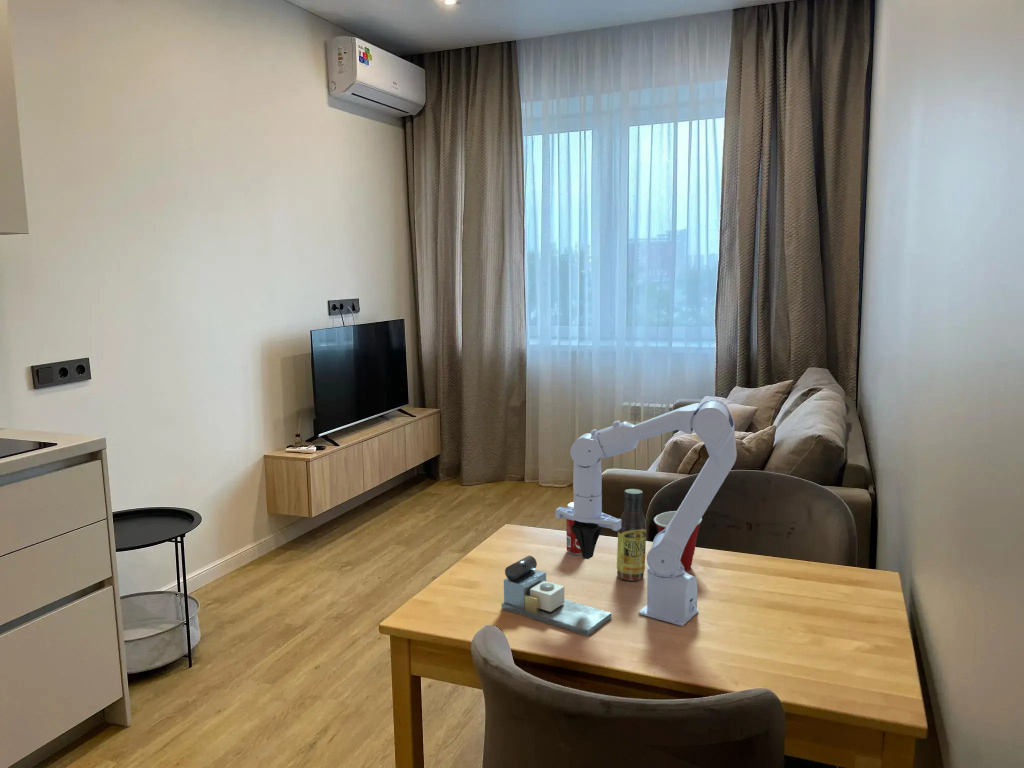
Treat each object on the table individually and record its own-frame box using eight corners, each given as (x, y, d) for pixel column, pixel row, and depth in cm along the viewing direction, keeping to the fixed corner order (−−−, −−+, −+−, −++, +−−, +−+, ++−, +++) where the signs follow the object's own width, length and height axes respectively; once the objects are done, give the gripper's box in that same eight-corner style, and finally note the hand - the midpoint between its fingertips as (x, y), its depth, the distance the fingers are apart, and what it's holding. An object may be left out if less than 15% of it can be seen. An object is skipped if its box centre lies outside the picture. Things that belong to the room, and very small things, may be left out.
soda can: (587, 548, 186) (587, 501, 184) (588, 556, 181) (587, 508, 179) (566, 547, 187) (566, 501, 185) (566, 555, 182) (565, 507, 180)
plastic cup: (647, 559, 178) (648, 510, 176) (691, 556, 179) (692, 508, 178) (661, 577, 168) (661, 526, 166) (708, 574, 169) (709, 523, 167)
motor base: (611, 618, 148) (611, 574, 147) (587, 636, 141) (587, 590, 140) (527, 593, 161) (526, 552, 159) (501, 608, 153) (500, 566, 152)
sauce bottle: (623, 584, 164) (623, 496, 162) (612, 573, 170) (612, 488, 168) (650, 580, 166) (651, 493, 163) (638, 569, 172) (639, 485, 169)
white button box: (564, 602, 152) (564, 584, 152) (550, 611, 148) (550, 593, 148) (544, 596, 155) (543, 578, 155) (530, 605, 151) (529, 587, 151)
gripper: (628, 494, 151) (628, 558, 153) (568, 483, 160) (568, 544, 162) (611, 503, 145) (611, 569, 147) (549, 491, 154) (550, 554, 156)
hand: (587, 557), depth 154 cm, fingers closed
